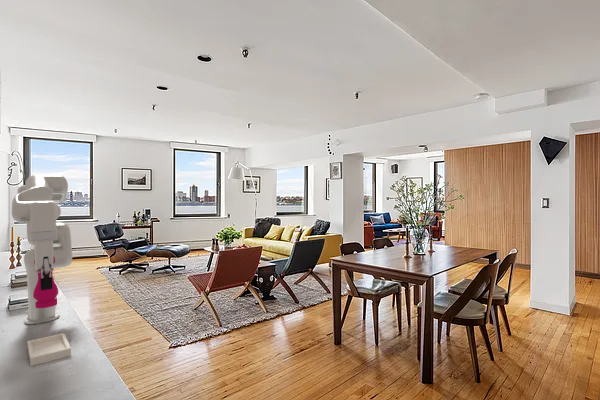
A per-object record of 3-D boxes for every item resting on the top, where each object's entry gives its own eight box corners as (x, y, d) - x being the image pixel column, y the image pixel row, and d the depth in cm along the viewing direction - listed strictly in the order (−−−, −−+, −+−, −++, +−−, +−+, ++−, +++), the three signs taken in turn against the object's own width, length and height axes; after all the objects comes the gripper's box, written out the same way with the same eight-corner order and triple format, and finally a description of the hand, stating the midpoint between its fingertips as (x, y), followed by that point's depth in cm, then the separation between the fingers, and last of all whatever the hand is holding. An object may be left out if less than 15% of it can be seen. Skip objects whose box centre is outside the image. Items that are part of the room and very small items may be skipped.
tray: (27, 348, 126) (27, 341, 126) (64, 339, 133) (64, 332, 133) (30, 366, 112) (30, 358, 112) (71, 355, 119) (71, 348, 119)
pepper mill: (45, 309, 119) (43, 250, 119) (28, 308, 121) (26, 250, 121) (64, 302, 127) (61, 247, 126) (47, 302, 128) (45, 247, 128)
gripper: (29, 236, 128) (31, 285, 128) (31, 239, 115) (34, 294, 115) (54, 234, 133) (56, 282, 133) (59, 236, 119) (61, 290, 120)
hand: (45, 287), depth 124 cm, fingers closed on pepper mill, 5 cm apart
